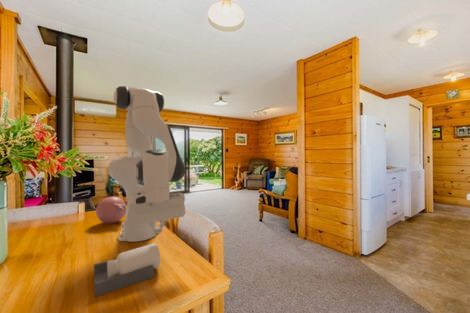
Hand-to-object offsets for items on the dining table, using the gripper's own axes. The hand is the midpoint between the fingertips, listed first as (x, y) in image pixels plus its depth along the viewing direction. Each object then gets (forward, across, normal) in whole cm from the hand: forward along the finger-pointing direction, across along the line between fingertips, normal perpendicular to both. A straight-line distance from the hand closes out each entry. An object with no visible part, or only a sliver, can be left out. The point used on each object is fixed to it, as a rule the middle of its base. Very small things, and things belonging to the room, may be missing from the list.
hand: (157, 233), depth 75 cm
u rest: (+12, +11, 0) cm, 16 cm away
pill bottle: (+7, 0, +1) cm, 7 cm away
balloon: (+12, +9, -63) cm, 64 cm away
